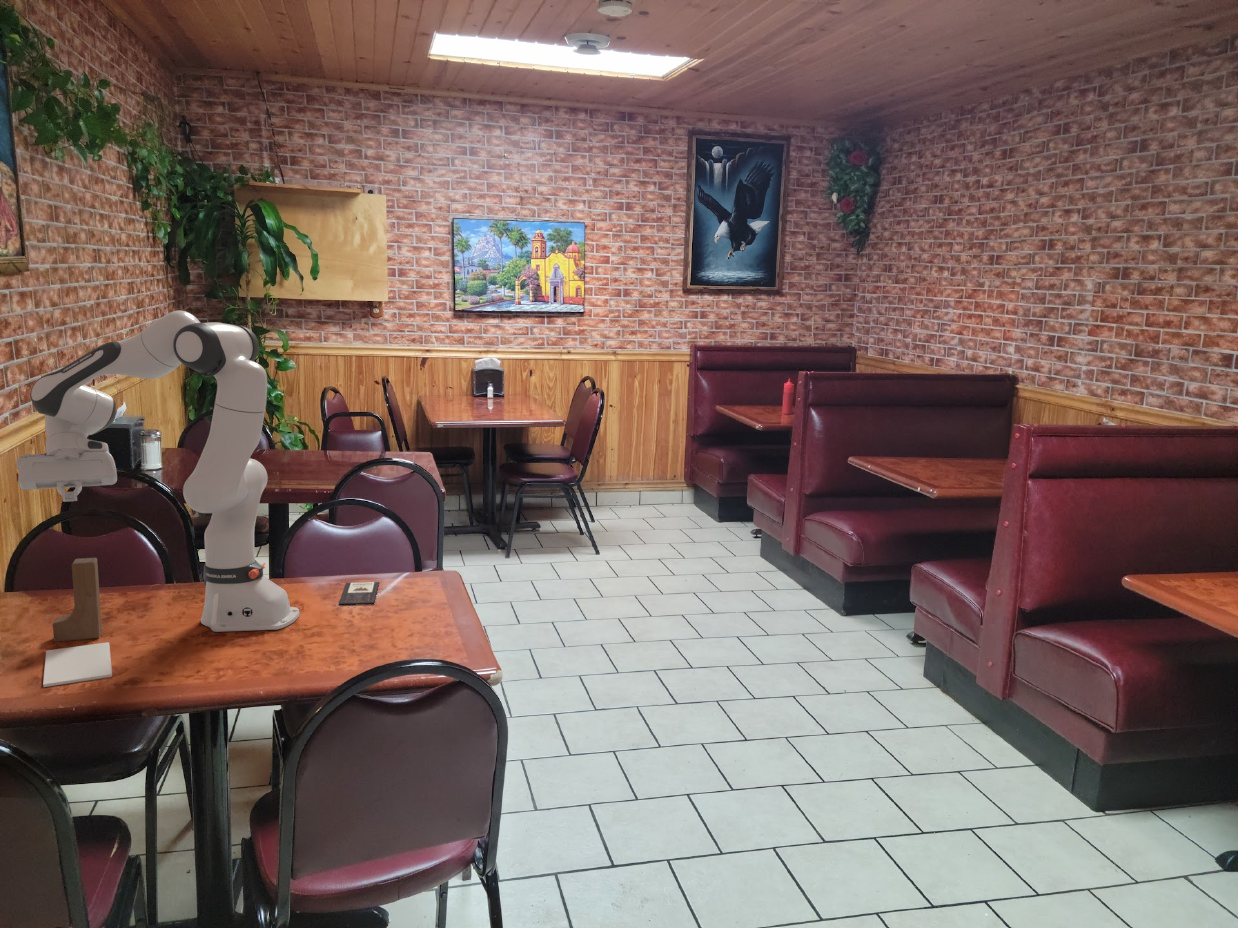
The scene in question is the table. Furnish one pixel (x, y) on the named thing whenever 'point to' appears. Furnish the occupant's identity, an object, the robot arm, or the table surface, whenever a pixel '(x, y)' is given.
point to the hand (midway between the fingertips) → (70, 500)
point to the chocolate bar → (359, 593)
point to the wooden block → (82, 605)
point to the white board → (77, 664)
